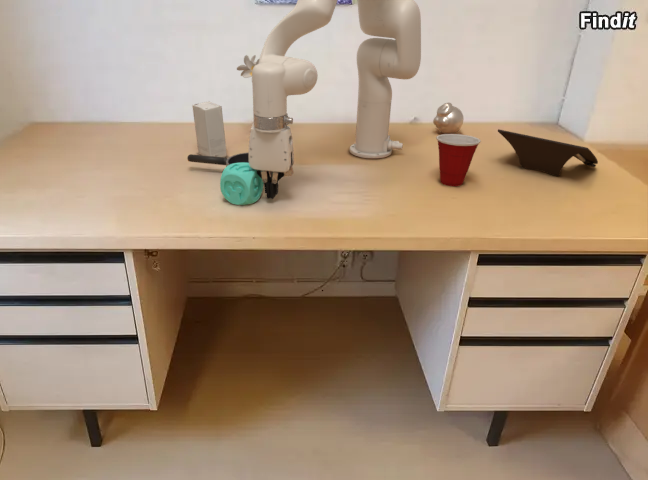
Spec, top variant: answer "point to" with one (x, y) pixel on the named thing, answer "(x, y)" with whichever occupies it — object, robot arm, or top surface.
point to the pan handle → (207, 159)
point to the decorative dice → (241, 184)
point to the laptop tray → (546, 153)
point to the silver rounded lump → (448, 119)
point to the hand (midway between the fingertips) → (271, 196)
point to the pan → (241, 160)
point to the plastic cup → (455, 157)
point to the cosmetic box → (209, 129)
